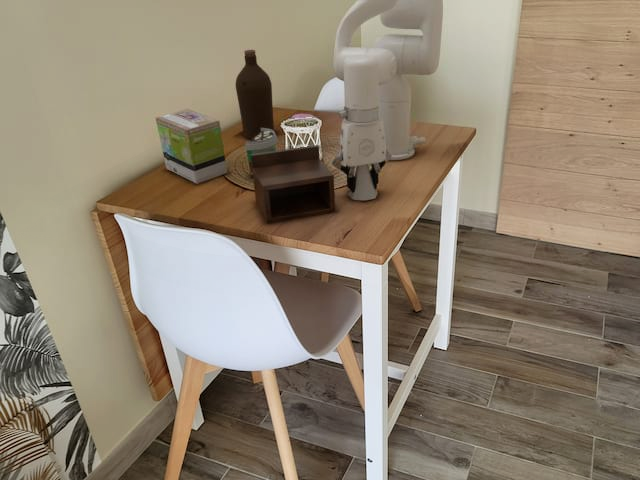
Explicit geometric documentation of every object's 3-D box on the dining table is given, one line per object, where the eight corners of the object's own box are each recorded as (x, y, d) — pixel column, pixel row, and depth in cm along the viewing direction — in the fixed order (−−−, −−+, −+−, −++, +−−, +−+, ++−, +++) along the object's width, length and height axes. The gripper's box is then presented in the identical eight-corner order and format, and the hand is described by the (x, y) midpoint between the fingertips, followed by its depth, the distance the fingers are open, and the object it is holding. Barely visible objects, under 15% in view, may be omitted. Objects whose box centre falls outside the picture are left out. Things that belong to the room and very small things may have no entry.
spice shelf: (320, 191, 141) (317, 144, 134) (335, 211, 131) (333, 162, 125) (256, 202, 136) (250, 154, 130) (266, 223, 126) (261, 172, 120)
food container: (271, 181, 147) (267, 143, 141) (249, 179, 148) (244, 142, 143) (286, 163, 157) (283, 128, 152) (265, 162, 158) (261, 127, 153)
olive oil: (276, 139, 174) (268, 53, 161) (241, 141, 173) (230, 55, 160) (275, 128, 183) (267, 46, 170) (242, 130, 182) (231, 48, 169)
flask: (347, 190, 141) (345, 151, 136) (376, 188, 142) (376, 150, 136) (349, 202, 135) (347, 162, 130) (379, 200, 136) (379, 160, 130)
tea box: (165, 170, 154) (153, 116, 146) (197, 160, 160) (187, 107, 153) (196, 185, 145) (186, 128, 138) (228, 173, 152) (220, 118, 144)
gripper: (330, 123, 122) (334, 200, 132) (403, 113, 127) (401, 189, 137) (320, 113, 128) (324, 188, 138) (390, 105, 133) (389, 178, 143)
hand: (362, 188), depth 137 cm, fingers closed on flask, 4 cm apart
